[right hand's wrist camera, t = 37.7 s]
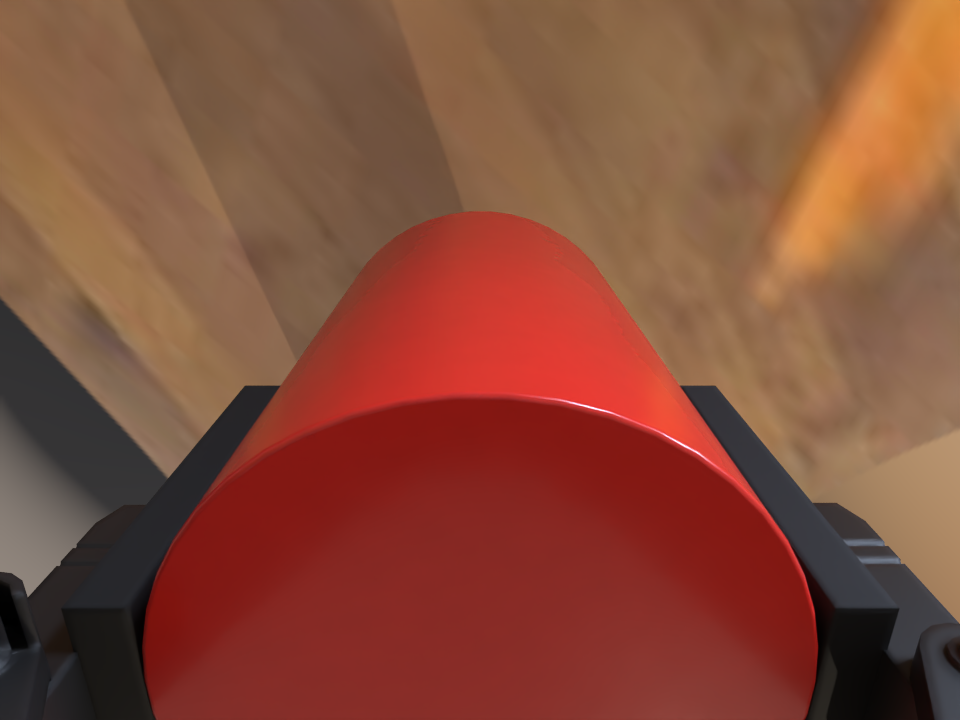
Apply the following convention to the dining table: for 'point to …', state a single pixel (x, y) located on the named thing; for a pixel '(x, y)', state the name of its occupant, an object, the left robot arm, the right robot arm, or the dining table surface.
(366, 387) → the canister
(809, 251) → the dining table surface
